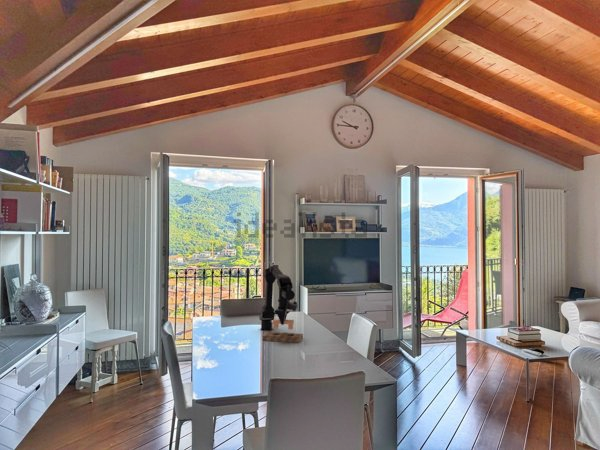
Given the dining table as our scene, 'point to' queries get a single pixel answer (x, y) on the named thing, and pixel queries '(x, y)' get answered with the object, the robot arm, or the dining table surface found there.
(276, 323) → the tall terracotta pillar
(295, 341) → the brown slotted board
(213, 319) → the dining table surface
